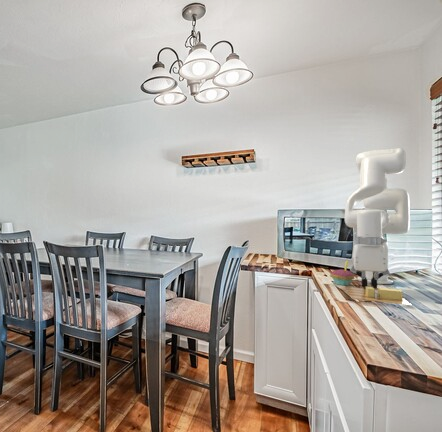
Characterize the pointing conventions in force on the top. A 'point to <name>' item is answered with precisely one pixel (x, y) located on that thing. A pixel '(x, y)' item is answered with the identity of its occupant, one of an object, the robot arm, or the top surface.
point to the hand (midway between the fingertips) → (369, 288)
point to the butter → (390, 293)
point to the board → (361, 295)
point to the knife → (375, 291)
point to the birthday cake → (342, 276)
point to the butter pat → (370, 291)
